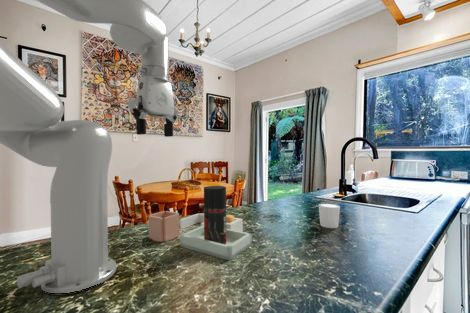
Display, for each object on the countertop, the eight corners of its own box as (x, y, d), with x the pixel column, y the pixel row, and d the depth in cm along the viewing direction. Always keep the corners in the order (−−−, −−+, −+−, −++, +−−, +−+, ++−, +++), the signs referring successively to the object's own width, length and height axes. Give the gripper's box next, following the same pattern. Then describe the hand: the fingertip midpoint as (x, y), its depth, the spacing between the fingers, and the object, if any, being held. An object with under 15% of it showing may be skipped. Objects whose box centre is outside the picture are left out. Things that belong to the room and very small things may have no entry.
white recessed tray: (228, 239, 66) (228, 225, 66) (180, 228, 77) (179, 216, 77) (244, 230, 75) (244, 217, 75) (198, 221, 85) (198, 210, 85)
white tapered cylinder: (336, 222, 82) (336, 203, 82) (343, 229, 75) (343, 207, 75) (316, 222, 83) (316, 203, 83) (321, 228, 76) (321, 207, 76)
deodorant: (225, 247, 59) (225, 189, 59) (202, 247, 59) (202, 189, 59) (226, 238, 65) (226, 185, 65) (205, 238, 65) (205, 185, 65)
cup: (163, 243, 64) (162, 219, 64) (146, 238, 68) (146, 215, 67) (181, 235, 70) (181, 213, 70) (165, 231, 73) (165, 210, 73)
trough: (230, 260, 53) (229, 247, 53) (180, 246, 62) (180, 235, 62) (251, 244, 63) (251, 233, 63) (205, 234, 71) (205, 224, 71)
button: (229, 233, 70) (229, 218, 70) (218, 230, 72) (218, 216, 72) (236, 229, 73) (236, 215, 73) (225, 227, 75) (225, 214, 75)
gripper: (136, 64, 58) (137, 132, 58) (185, 82, 72) (186, 136, 73) (119, 69, 62) (120, 133, 62) (169, 86, 76) (169, 137, 76)
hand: (155, 135), depth 67 cm, fingers open, 9 cm apart
